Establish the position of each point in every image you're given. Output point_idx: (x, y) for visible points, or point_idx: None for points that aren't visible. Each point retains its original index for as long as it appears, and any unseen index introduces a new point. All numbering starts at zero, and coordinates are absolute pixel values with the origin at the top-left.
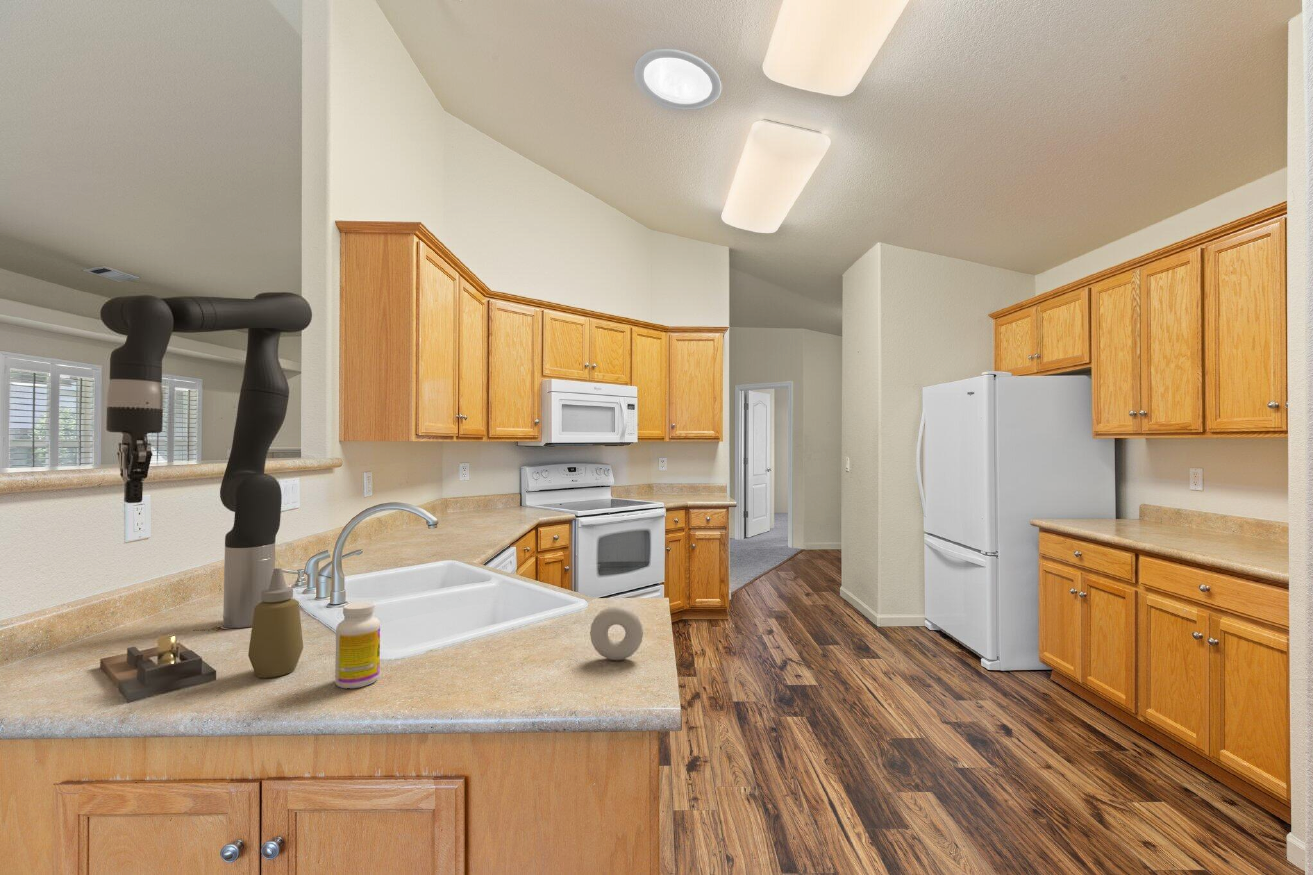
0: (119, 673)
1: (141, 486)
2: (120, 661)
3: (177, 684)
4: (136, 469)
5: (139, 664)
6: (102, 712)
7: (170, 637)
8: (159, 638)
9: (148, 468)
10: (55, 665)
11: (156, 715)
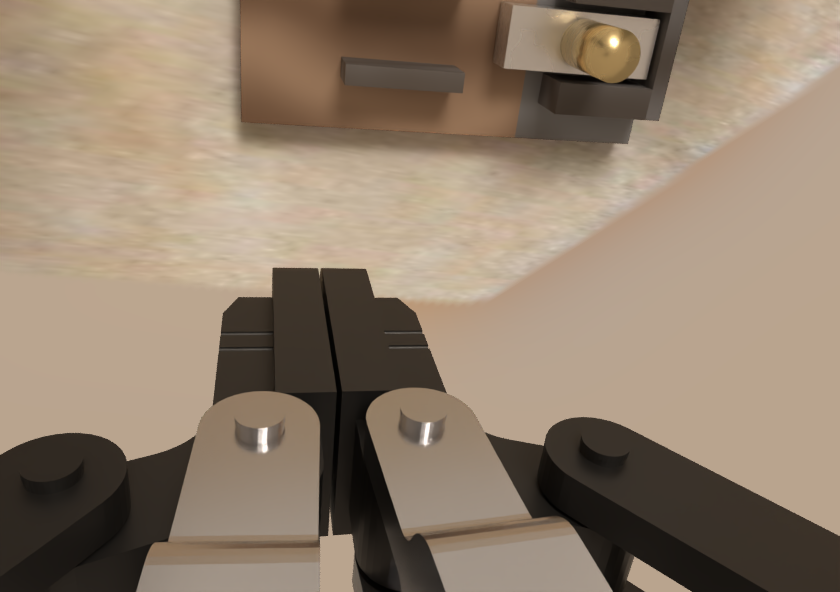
0: (450, 121)
1: (387, 363)
2: (325, 89)
3: None
4: (45, 584)
5: (578, 115)
6: (624, 187)
7: (636, 53)
8: (614, 79)
9: (821, 531)
10: (105, 193)
11: (748, 119)
